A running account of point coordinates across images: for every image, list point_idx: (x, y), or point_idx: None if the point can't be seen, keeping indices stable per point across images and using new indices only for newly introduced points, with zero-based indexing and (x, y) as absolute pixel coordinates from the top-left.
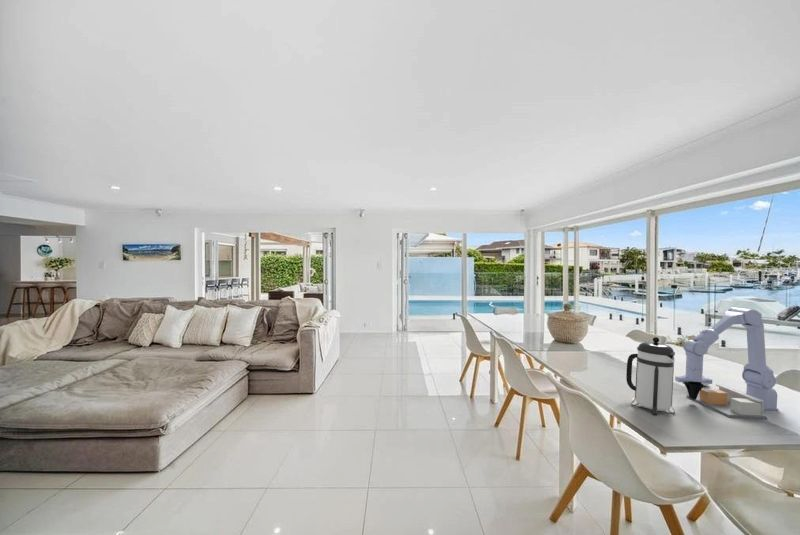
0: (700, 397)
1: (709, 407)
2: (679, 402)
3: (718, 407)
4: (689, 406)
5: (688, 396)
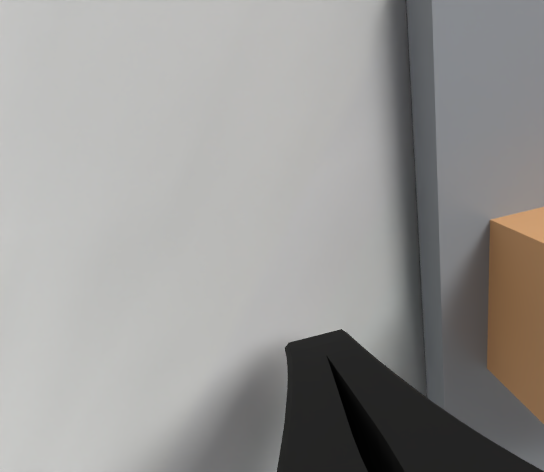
0: (528, 252)
1: None
2: (105, 360)
3: (518, 456)
4: (187, 464)
5: (422, 11)
